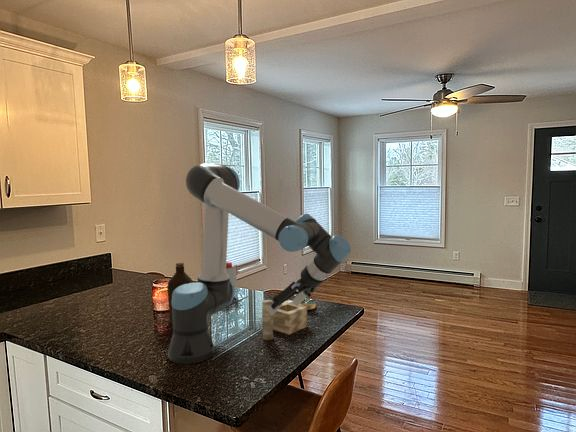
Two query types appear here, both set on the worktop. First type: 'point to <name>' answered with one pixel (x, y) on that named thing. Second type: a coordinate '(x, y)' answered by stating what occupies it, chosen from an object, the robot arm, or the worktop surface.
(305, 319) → the block
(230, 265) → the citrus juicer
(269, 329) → the dowel
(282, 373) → the worktop surface
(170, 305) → the olive oil
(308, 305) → the green yellow irregular piece
